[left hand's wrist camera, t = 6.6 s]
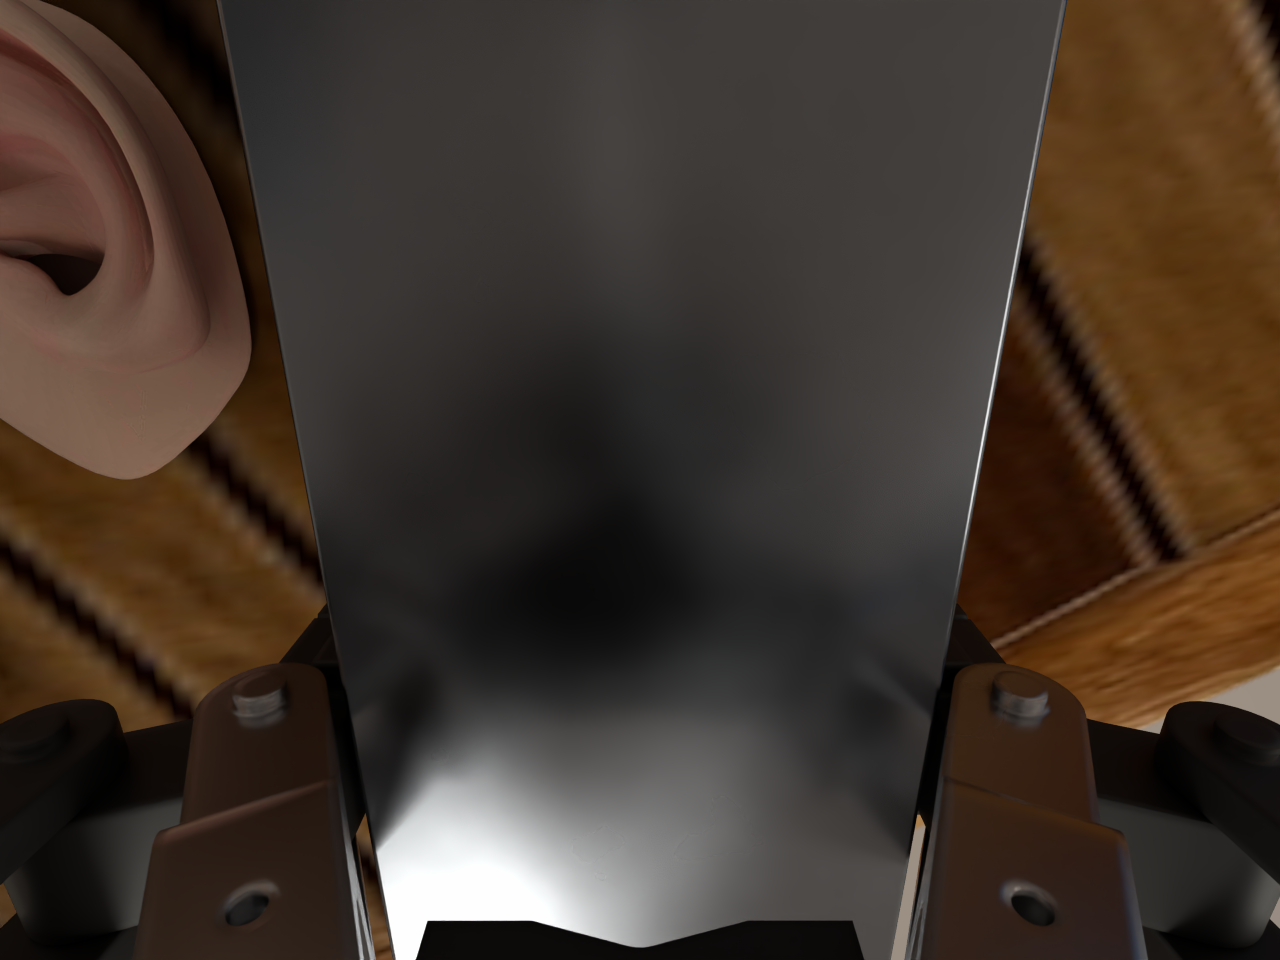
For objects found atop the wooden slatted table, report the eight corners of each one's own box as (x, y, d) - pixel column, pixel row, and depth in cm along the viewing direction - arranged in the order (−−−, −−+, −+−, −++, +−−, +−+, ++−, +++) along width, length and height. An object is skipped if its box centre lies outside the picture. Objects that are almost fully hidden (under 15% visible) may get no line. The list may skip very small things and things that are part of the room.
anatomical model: (133, 568, 20) (-302, 407, 19) (211, 513, 24) (-146, 374, 22) (240, 107, 16) (-315, -159, 14) (314, 126, 20) (-118, -83, 18)
